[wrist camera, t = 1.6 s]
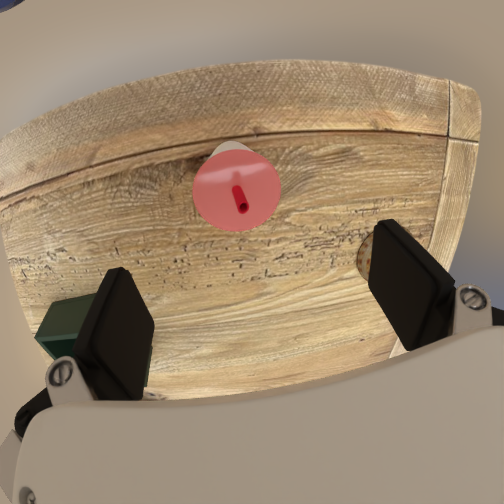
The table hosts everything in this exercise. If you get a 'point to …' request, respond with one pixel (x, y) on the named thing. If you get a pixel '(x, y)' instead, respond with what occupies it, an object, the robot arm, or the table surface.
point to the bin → (66, 327)
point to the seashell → (367, 256)
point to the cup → (236, 188)
